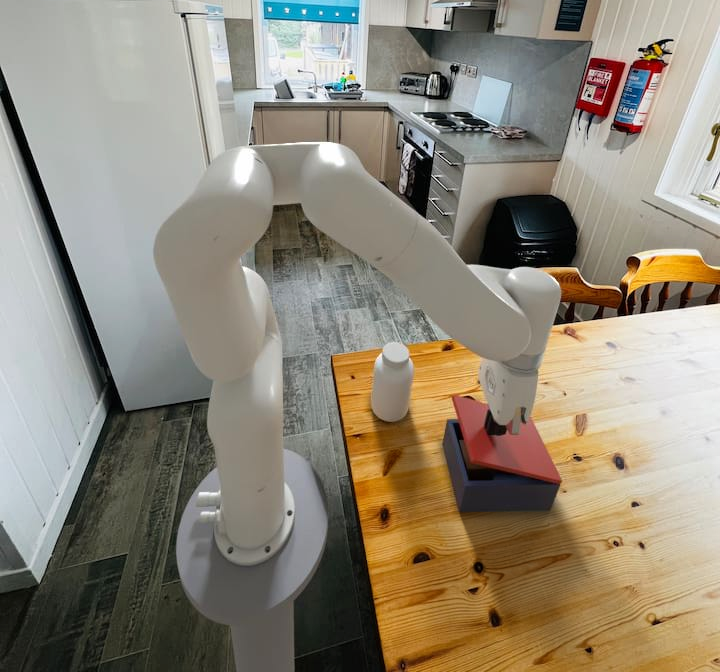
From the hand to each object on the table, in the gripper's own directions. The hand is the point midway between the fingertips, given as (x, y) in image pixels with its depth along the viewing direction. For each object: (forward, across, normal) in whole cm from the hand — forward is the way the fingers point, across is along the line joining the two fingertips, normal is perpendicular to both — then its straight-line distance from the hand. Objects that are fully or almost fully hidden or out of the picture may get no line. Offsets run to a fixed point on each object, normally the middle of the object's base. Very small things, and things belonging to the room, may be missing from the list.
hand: (494, 430), depth 66 cm
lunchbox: (+12, 0, +2) cm, 12 cm away
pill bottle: (+12, -14, -15) cm, 24 cm away
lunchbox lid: (+2, 0, +2) cm, 3 cm away
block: (+11, 0, -2) cm, 11 cm away
